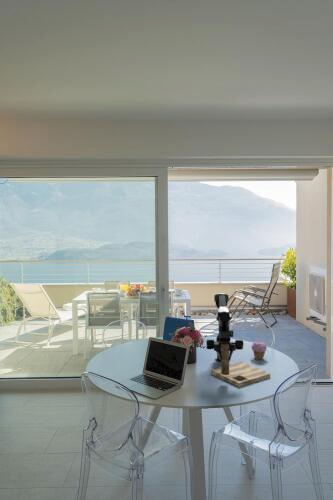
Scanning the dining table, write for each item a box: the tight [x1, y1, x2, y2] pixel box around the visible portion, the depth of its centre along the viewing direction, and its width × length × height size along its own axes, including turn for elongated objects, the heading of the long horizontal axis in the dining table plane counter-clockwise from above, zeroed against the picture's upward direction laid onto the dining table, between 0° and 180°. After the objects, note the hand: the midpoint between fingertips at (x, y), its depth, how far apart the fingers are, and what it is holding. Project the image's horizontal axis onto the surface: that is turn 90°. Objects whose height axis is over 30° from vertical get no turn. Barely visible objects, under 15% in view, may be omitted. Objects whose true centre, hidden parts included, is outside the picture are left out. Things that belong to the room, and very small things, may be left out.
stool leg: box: [220, 343, 230, 375], centre depth 205 cm, size 4×4×15 cm
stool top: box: [210, 361, 271, 388], centre depth 216 cm, size 22×22×2 cm
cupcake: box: [251, 341, 267, 360], centre depth 242 cm, size 9×9×10 cm
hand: (225, 359), depth 204 cm, fingers closed on stool leg, 4 cm apart
